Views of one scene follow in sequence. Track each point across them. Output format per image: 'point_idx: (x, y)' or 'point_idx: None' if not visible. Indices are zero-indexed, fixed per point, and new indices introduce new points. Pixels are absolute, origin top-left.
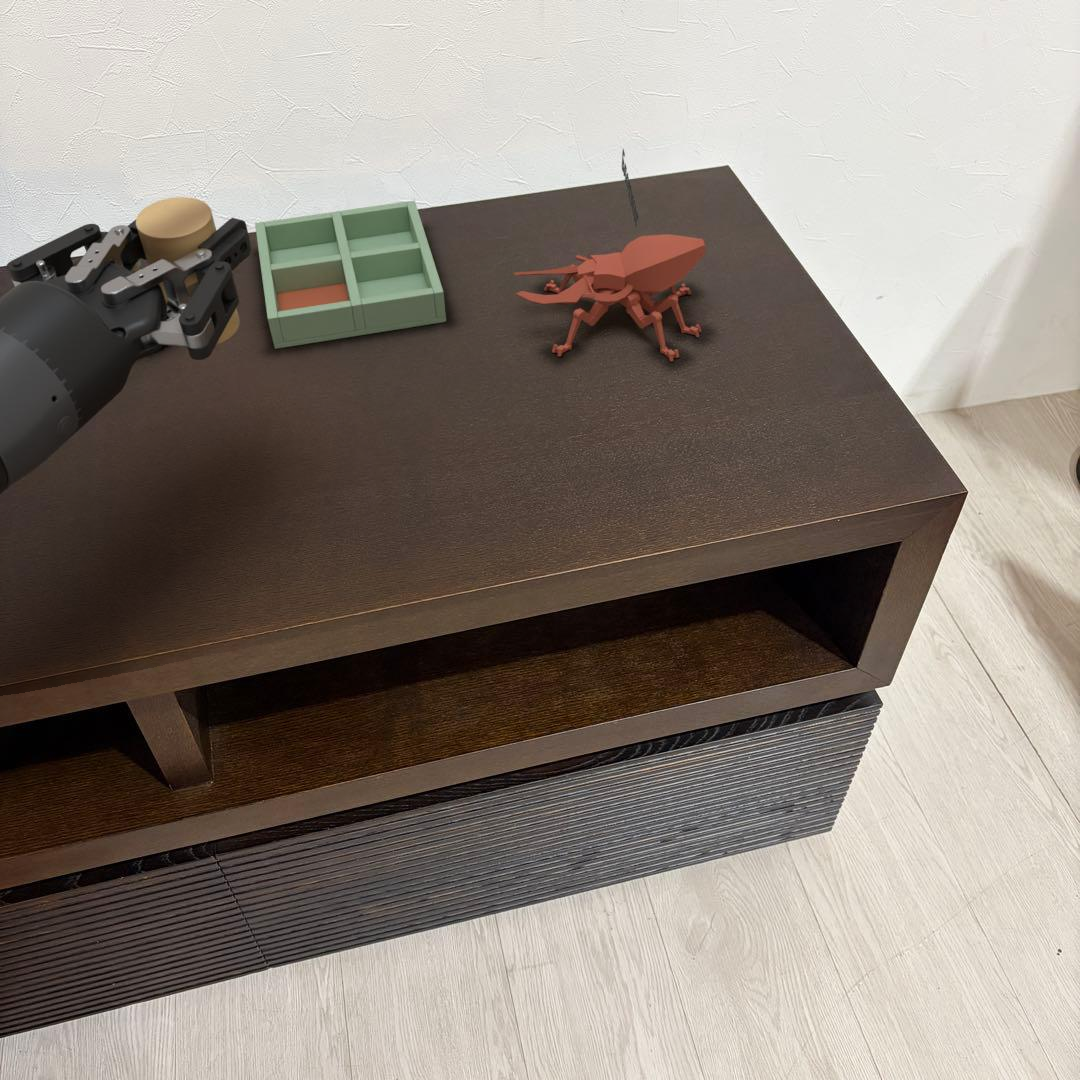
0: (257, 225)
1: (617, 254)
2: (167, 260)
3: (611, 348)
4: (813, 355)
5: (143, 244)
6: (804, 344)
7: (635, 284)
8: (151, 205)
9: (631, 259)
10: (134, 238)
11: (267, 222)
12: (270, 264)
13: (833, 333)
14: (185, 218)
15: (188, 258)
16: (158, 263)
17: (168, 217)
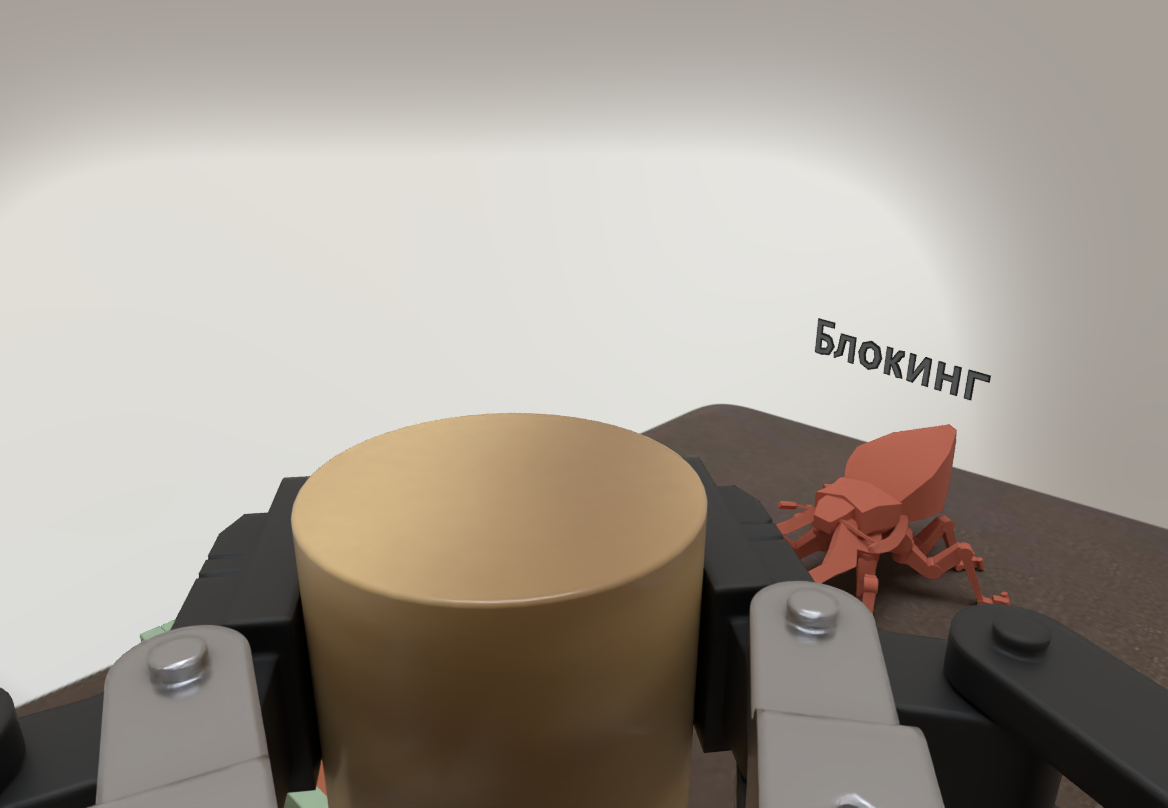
0: (149, 637)
1: (846, 480)
2: (782, 712)
3: (914, 627)
4: (1121, 542)
5: (405, 688)
6: (1091, 534)
7: (912, 511)
8: (320, 478)
9: (892, 475)
10: (269, 683)
11: (168, 624)
12: None
13: (1091, 512)
14: (572, 476)
15: (792, 659)
16: (793, 757)
17: (482, 495)
